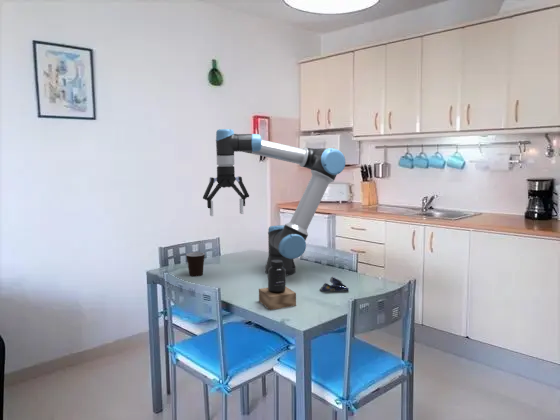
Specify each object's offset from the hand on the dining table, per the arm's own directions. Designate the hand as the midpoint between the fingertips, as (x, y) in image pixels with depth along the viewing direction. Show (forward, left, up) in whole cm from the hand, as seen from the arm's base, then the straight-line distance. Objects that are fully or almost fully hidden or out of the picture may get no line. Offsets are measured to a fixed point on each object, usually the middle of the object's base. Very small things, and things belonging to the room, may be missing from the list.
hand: (226, 214), depth 197 cm
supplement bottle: (-10, +31, -27) cm, 42 cm away
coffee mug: (+8, -24, -32) cm, 41 cm away
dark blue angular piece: (-39, +26, -32) cm, 57 cm away
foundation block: (-10, +31, -32) cm, 45 cm away
